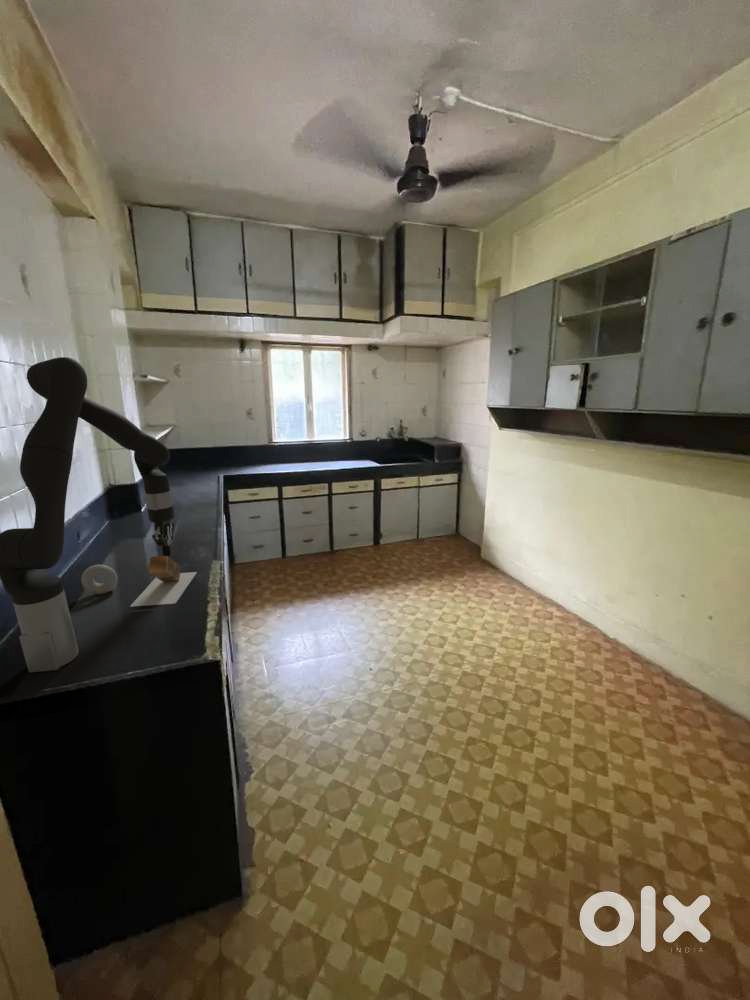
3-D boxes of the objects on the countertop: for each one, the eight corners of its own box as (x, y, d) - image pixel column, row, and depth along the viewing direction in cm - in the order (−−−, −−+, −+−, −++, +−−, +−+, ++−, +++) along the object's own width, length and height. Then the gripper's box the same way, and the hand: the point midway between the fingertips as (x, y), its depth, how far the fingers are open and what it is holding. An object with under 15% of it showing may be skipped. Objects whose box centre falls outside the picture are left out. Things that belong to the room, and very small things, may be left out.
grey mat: (175, 604, 122) (175, 603, 122) (129, 608, 121) (129, 606, 120) (197, 573, 143) (197, 572, 143) (158, 575, 142) (158, 574, 142)
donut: (82, 598, 127) (75, 569, 124) (87, 593, 130) (80, 564, 127) (118, 594, 129) (112, 565, 127) (121, 589, 132) (116, 560, 130)
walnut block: (179, 581, 136) (165, 571, 126) (163, 582, 136) (148, 572, 125) (180, 566, 138) (167, 555, 128) (165, 567, 138) (150, 556, 127)
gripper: (155, 500, 136) (163, 548, 140) (138, 511, 123) (147, 564, 128) (179, 499, 137) (186, 547, 141) (164, 510, 124) (172, 562, 128)
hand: (167, 555), depth 134 cm, fingers closed
